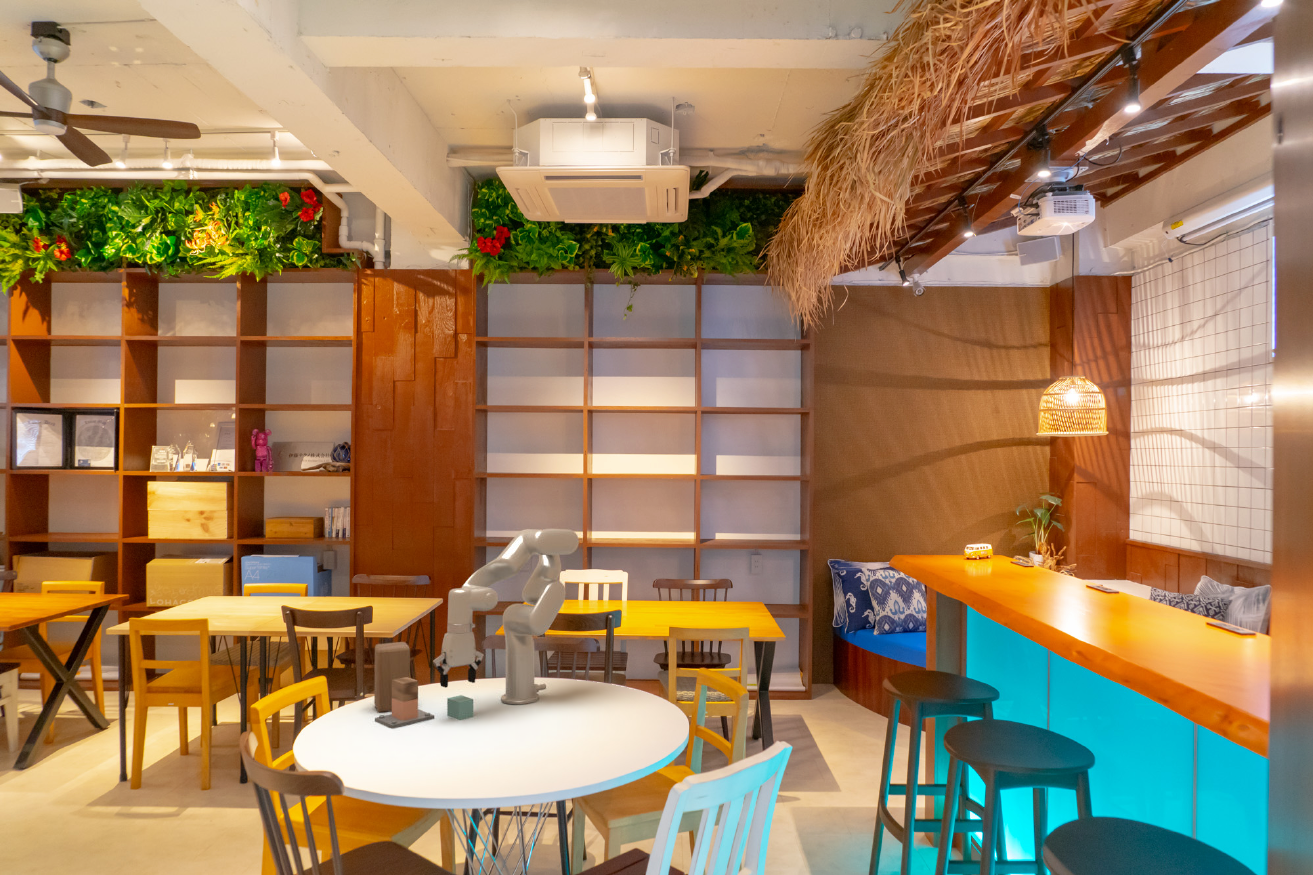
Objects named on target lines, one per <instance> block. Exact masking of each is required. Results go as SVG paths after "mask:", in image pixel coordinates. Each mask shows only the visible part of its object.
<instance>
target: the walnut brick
mask: <svg viewBox="0 0 1313 875" xmlns="http://www.w3.org/2000/svg"><path fill="white" fill-rule="evenodd" d="M392 698H393V699H396V700H399V701H401V702H406V701H411V700H415V699H418V700H419V680H417V679H414V678H411V677H410V678H408V677H404V678H399V679H394V680H392Z"/></svg>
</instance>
